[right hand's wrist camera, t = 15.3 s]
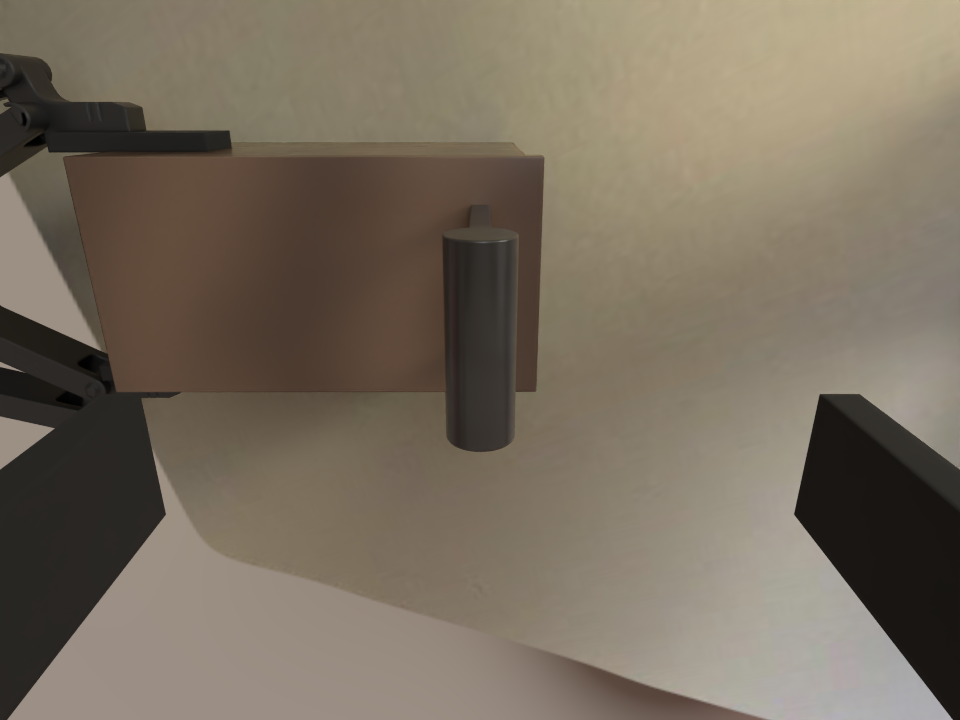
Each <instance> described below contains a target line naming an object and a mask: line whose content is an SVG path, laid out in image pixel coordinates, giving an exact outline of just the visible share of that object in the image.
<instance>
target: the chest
mask: <svg viewBox="0 0 960 720" xmlns="http://www.w3.org/2000/svg"><path fill="white" fill-rule="evenodd" d="M231 146H232V148H228V149H222V150H215V151H209V152H101V153H92V154H83V155H525V154H524V153H523V152H522V151H521V150H520V149H519V148H518V147H517V146H516V145H515V144H514V143H231Z"/></svg>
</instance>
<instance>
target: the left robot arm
mask: <svg viewBox="0 0 960 720" xmlns="http://www.w3.org/2000/svg"><path fill="white" fill-rule="evenodd" d="M51 81H52V73H51V69H50V67H49V66H48V64H47V63H46V62H44V61H43V60H42V59H39V58H36V57H28V56H20V55H11V54H2V53H0V101H1V100H5V99H8V100H9V101H10V102H7V103H4V106H5V107H11V108H10V109H8V110H7V111H5V112H4V113H2V114H1V115H0V177H1V176H3V175H4V174H6V173H7V172H9V171H10V170H12V169H13V168H15V167H17V166H18V165H20V164H21V163H23V162H24V161H26V160H27V159H29V158H30V157H32V156H33V155H35V154H36V153H38V152H39V151H41V150H42V149H44V148H46V147H47V146H48V151H49V152H209V151H215V150H222V149H228V148H232V146H231V139H230V131H146V126H145V120H144V115H143V109H142V107H140V106H137V105H135V104H132V103H130V102H70V101H67V100H65V99H64V98H62V97H61V96H60V95H59V94H58V93H57V92H56V90H55V89H54V87H53V85H52V83H51ZM0 362H2V363H4V364H7V365H9V366H11V367H14V368H16V369H18V370H21V371H23V372H19V371H15V370H10V369H6V368H2V367H0V416H2V417H6V418H11V419H15V420H20V421H25V422H29V423H34V424H38V425H43V426H48V427H52V428H56V427H58V426H59V425H60V424H62V423H63V422H64V421H66V420H67V419H68V418H70V417H71V416H72V415H74V414H75V413H76V412H78V411H79V410H80V409H82V408H83V407H84V406H86V405H87V404H88V403H90V402H91V401H92V400H94V399H95V398H96V397H98V396H99V395H100V394H140V396H141V398H148V397H150V398H156V397H158V398H170V397H172V396H175V395H177V394H179V393H180V392H116V388H115V384H114V379H113V375H112V371H111V366H110V362H109V357H108V354H106V353H104V352H102V351H99V350H97V349H95V348H93V347H90V346H88V345H86V344H84V343H82V342H79V341H77V340H75V339H73V338H70V337H68V336H66V335H64V334H61V333H59V332H57V331H55V330H53V329H50V328H48V327H46V326H44V325H42V324H39V323H37V322H35V321H33V320H30V319H28V318H26V317H24V316H22V315H19V314H17V313H15V312H13V311H10V310H8V309H6V308H4V307H2V306H0ZM24 372H25V373H24Z"/></svg>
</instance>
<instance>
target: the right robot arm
mask: <svg viewBox="0 0 960 720" xmlns="http://www.w3.org/2000/svg"><path fill="white" fill-rule="evenodd" d="M165 515H166V513H165V508H164V504H163V499H162V494H161V490H160V485H159V480H158V475H157V471H156V466H155V461H154V457H153V452H152V447H151V443H150V438H149V433H148V428H147V424H146V419H145V414H144V410H143V405H142V400H141V396H140V394H100V395H99V396H98V397H96V398H95V399H94V400H92V401H91V402H90V403H88V404H87V405H86V406H84V407H83V408H82V409H80V410H79V411H78V412H76V413H75V414H74V415H72V416H71V417H70V418H68V419H67V420H66V421H64V422H63V423H62V424H60V425H59V426H58V427H56V428H55V429H54V430H52V431H51V432H50V433H48V434H47V435H46V436H44V437H43V438H42V439H40V440H39V441H38V442H36V443H35V444H34V445H33V446H31V447H30V448H29V449H27V450H26V451H25V452H23V453H22V454H21V455H19V456H18V457H17V458H15V459H14V460H13V461H11V462H10V463H9V464H7V465H6V466H5V467H3V468H2V469H1V470H0V720H7V719H8V718H9V716H10V715H11V714H12V713H13V711H14V710H15V709H16V707H17V706H18V705H19V704H20V702H21V701H22V700H23V698H24V697H25V696H26V695H27V693H28V692H29V691H30V689H31V688H32V687H33V685H34V684H35V683H36V682H37V680H38V679H39V678H40V676H41V675H42V674H43V673H44V671H45V670H46V669H47V667H48V666H49V665H50V664H51V662H52V661H53V660H54V658H55V657H56V656H57V654H58V653H59V652H60V651H61V649H62V648H63V647H64V645H65V644H66V643H67V642H68V640H69V639H70V638H71V636H72V635H73V634H74V633H75V631H76V630H77V629H78V627H79V626H80V625H81V623H82V622H83V621H84V620H85V618H86V617H87V616H88V614H89V613H90V612H91V611H92V609H93V608H94V607H95V605H96V604H97V603H98V602H99V600H100V599H101V598H102V596H103V595H104V594H105V592H106V591H107V590H108V589H109V587H110V586H111V585H112V583H113V582H114V581H115V580H116V578H117V577H118V576H119V574H120V573H121V572H122V570H123V569H124V568H125V567H126V565H127V564H128V563H129V561H130V560H131V559H132V558H133V556H134V555H135V554H136V552H137V551H138V550H139V548H140V547H141V546H142V545H143V543H144V542H145V541H146V539H147V538H148V537H149V536H150V534H151V533H152V532H153V530H154V529H155V528H156V526H157V525H158V524H159V523H160V521H161V520H162V519H163V518H164V516H165ZM794 515H795V516H796V518H797V519H798V520H799V521H800V523H801V524H802V525H803V527H804V528H805V529H806V530H807V532H808V533H809V534H810V536H811V537H812V538H813V539H814V541H815V542H816V543H817V545H818V546H819V547H820V549H821V550H822V551H823V552H824V554H825V555H826V556H827V558H828V559H829V560H830V561H831V563H832V564H833V565H834V567H835V568H836V569H837V570H838V572H839V573H840V574H841V576H842V577H843V578H844V580H845V581H846V582H847V583H848V585H849V586H850V587H851V589H852V590H853V591H854V592H855V594H856V595H857V596H858V598H859V599H860V600H861V602H862V603H863V604H864V605H865V607H866V608H867V609H868V611H869V612H870V613H871V614H872V616H873V617H874V618H875V620H876V621H877V622H878V623H879V625H880V626H881V627H882V629H883V630H884V631H885V633H886V634H887V635H888V636H889V638H890V639H891V640H892V642H893V643H894V644H895V645H896V647H897V648H898V649H899V651H900V652H901V653H902V654H903V656H904V657H905V658H906V660H907V661H908V662H909V664H910V665H911V666H912V667H913V669H914V670H915V671H916V673H917V674H918V675H919V676H920V678H921V679H922V680H923V682H924V683H925V684H926V686H927V687H928V688H929V689H930V691H931V692H932V693H933V695H934V696H935V697H936V698H937V700H938V701H939V702H940V704H941V705H942V706H943V707H944V709H945V710H946V711H947V713H948V714H949V715H950V717H951V718H952V719H953V720H960V470H959V469H958V468H957V467H955V466H954V465H953V464H951V463H950V462H949V461H947V460H946V459H945V458H943V457H942V456H941V455H939V454H938V453H937V452H936V451H934V450H933V449H932V448H930V447H929V446H928V445H926V444H925V443H924V442H922V441H921V440H920V439H918V438H917V437H916V436H914V435H913V434H912V433H910V432H909V431H908V430H906V429H905V428H904V427H902V426H901V425H900V424H898V423H897V422H896V421H894V420H893V419H892V418H890V417H889V416H888V415H886V414H885V413H884V412H882V411H881V410H880V409H878V408H877V407H876V406H874V405H873V404H872V403H870V402H869V401H868V400H866V399H865V398H864V397H862V396H861V395H860V394H820V396H819V400H818V405H817V410H816V414H815V419H814V424H813V428H812V433H811V438H810V443H809V447H808V452H807V457H806V461H805V466H804V471H803V475H802V480H801V485H800V489H799V494H798V499H797V504H796V508H795V513H794Z"/></svg>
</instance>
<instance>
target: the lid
mask: <svg viewBox="0 0 960 720" xmlns="http://www.w3.org/2000/svg"><path fill="white" fill-rule="evenodd" d="M63 160H64V165H65V169H66V173H67V178H68V182H69V186H70V191H71V195H72V200H73V204H74V208H75V213H76V217H77V221H78V226H79V230H80V235H81V239H82V243H83V248H84V252H85V257H86V261H87V265H88V270H89V274H90V278H91V283H92V287H93V292H94V296H95V300H96V305H97V309H98V314H99V318H100V322H101V327H102V331H103V335H104V340H105V344H106V349H107V353H108V357H109V362H110V366H111V371H112V375H113V379H114V384H115V388H116V392H446V433H447V439H448V440H449V442H450V443H451V444H452V445H454V446H456V447H458V448H460V449H463V450H467V451H474V452H487V451H494V450H498V449H501V448H503V447H505V446H507V445H509V444H510V443H511V442H512V440H513V439H514V431H515V392H535V391H536V381H537V352H538V323H539V295H540V266H541V237H542V208H543V180H544V157H543V156H542V155H74V156H66V157H63Z"/></svg>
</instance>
